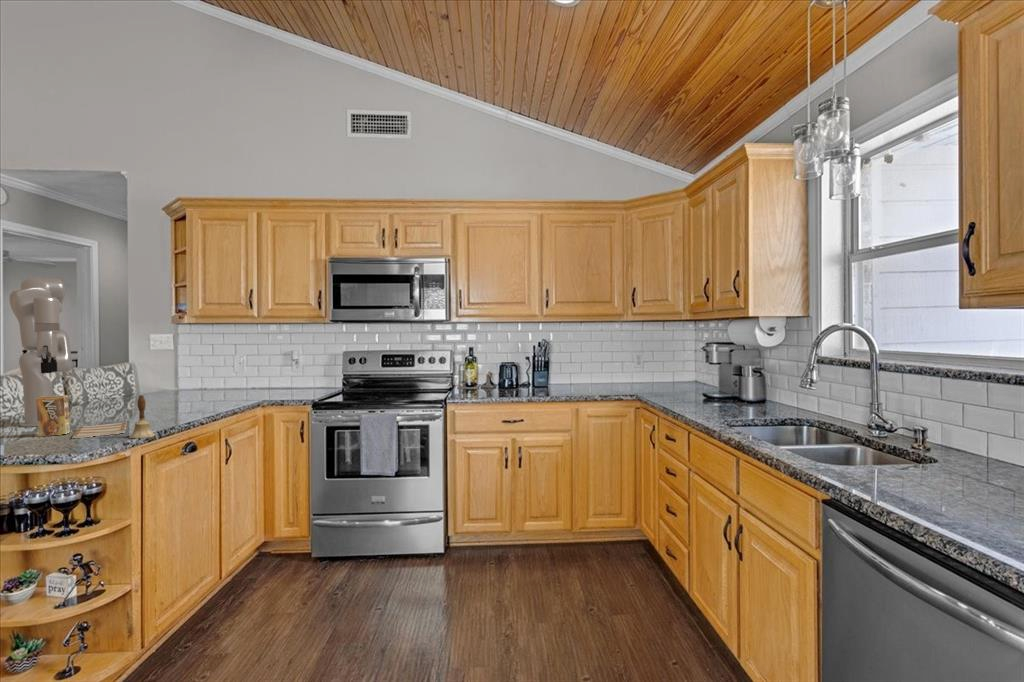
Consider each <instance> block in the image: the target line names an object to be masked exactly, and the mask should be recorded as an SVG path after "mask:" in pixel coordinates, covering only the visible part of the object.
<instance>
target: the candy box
mask: <svg viewBox="0 0 1024 682" xmlns="http://www.w3.org/2000/svg"><path fill="white" fill-rule="evenodd" d="M36 400H37V417H38V426H37V432H38V433H37V434H38V437H39V436H45V437H51V436H50V435H59V436H63V435H62V434H67V433H69V432H70V433H71V431H70V430H71V428H70V427H71V426H70V408H69V395H67V394H65V395H53V396H45V397H39V398H36ZM70 433H69V434H70ZM67 435H68V434H67Z"/></svg>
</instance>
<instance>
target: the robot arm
mask: <svg viewBox="0 0 1024 682" xmlns="http://www.w3.org/2000/svg"><path fill="white" fill-rule="evenodd" d="M64 283H65V282H63V281H62V280H61V279H58V278H53V277H52V278H51V277H50V278H48V277H47V278H44V277H29V278H26V279H24V280H23V281H22V282H21V283H20V289H17V290H16V289H15V290H13V291H11V292H10V293H9V305H10V308H11V310H12V313H13V314H14V316H15V317H16V319H17V321H18V326H19V332H20V333H19V334H20V340H21V346H22V348H23V349H24V350H26V351H29V352H25V353H23V354H22V355H20V357H19V358H18V359H19V360H18V365H19V369H20V372H21V379H22V389H23V409H24V410H23V411H24V421H23V422H20V423H19V425H20V427H23V428H24V427H26V428H27V427H28V428H29V427H38V417H37V400H36V398H39V397H45V396H54V394H53V383H52V381H51V379H49V378H48V376H45V375H44V374H52V373H65V372H69V371H70V370H71V369H72V366H73V357H72V351H71V345H70V339H69V334H68V333H67V332H66V331H65V330H64V329H61V328H60V327H61V326H60V314H61V313H62V310H63V309H62V307H63V302H64V299H65V296H66V287H65V284H64Z"/></svg>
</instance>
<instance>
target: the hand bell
mask: <svg viewBox="0 0 1024 682" xmlns="http://www.w3.org/2000/svg"><path fill="white" fill-rule="evenodd" d="M146 406H147V404H146V399H145V397H144V394H143V395H142V394H141V395H138V399H137V409H138V413H139V416H138V417H139V418H138V419H139V420H138V421H137V422H135V424H134V428H133V431H132V433H131V435H130V436H129V437H131V438H141V439H147V438H152V437H155V436H156V433H154V432H153V431H152V429H151V426H150V422H149V421H147V420H145V411H146ZM131 438H130V439H131Z"/></svg>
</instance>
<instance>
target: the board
mask: <svg viewBox="0 0 1024 682" xmlns="http://www.w3.org/2000/svg"><path fill="white" fill-rule="evenodd" d="M126 426H127V427H128V423H127V421H123V422H116V423H106V424H96V425H95V424H94V425H80V426H79V427H77V429H76V431H75V432H74V434H72V439H73V438H81V439H84V438H83V437H90V438H94V437H93V436H100V435H110V434H119V433H125V434H126V431H125V430H127V427H126ZM110 436H111V435H110ZM100 437H101V436H100Z"/></svg>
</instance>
